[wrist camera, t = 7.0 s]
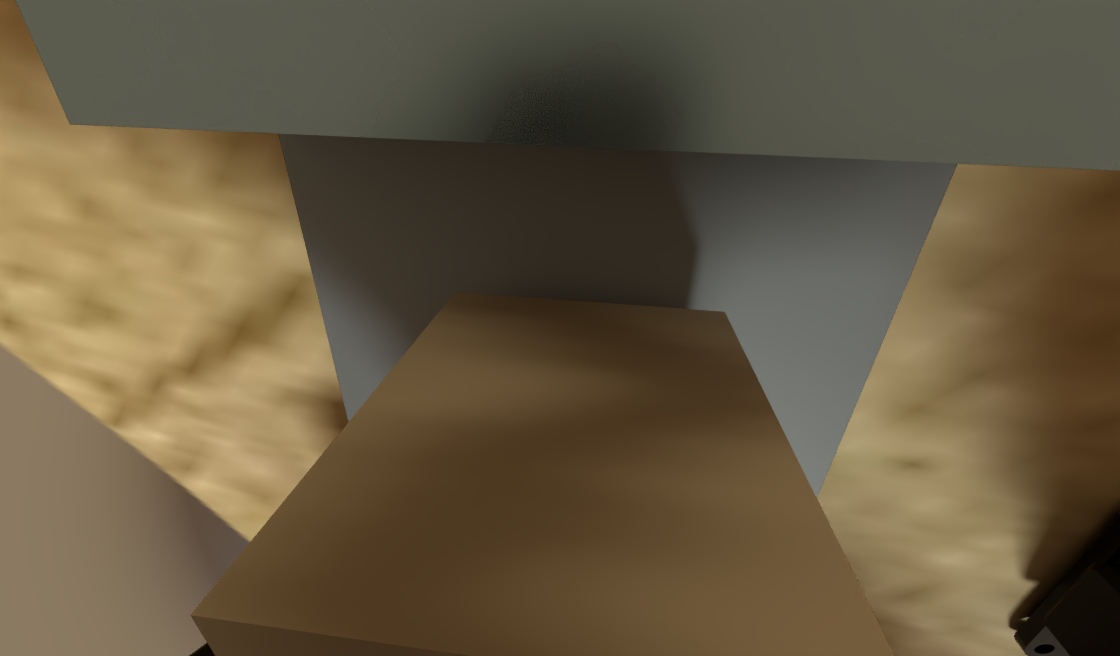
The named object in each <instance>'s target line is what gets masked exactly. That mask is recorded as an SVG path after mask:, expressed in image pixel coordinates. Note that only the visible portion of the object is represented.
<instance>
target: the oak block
mask: <svg viewBox="0 0 1120 656" xmlns="http://www.w3.org/2000/svg"><path fill="white" fill-rule="evenodd" d="M191 617H192V618H193V620H194V622H195V623H196V625H197V626H198V628H199V630H200V632H201V633H202V635H203V636H204V638H205V640H206V641H207V643H208V645H209V646H210V648H211V650H212V651H213V653H214V655H215V656H894V654H893V652H892V650H891V648H890V646H889V644H888V642H887V640H886V638H885V636H884V634H883V632H882V630H881V628H880V626H879V624H878V622H877V620H876V618H875V616H874V614H873V611H872V609H871V607H870V605H869V603H868V601H867V599H866V597H865V595H864V593H863V591H862V589H861V587H860V585H859V583H858V581H857V579H856V577H855V575H854V573H853V571H852V569H851V567H850V565H849V563H848V561H847V559H846V557H845V555H844V553H843V551H842V549H841V547H840V545H839V543H838V541H837V538H836V536H835V534H834V532H833V530H832V528H831V526H830V524H829V522H828V520H827V518H826V516H825V514H824V512H823V510H822V508H821V506H820V504H819V502H818V500H817V498H816V496H815V494H814V492H813V490H812V488H811V486H810V484H809V482H808V480H807V478H806V476H805V474H804V472H803V470H802V468H801V466H800V463H799V461H798V459H797V457H796V455H795V453H794V451H793V449H792V447H791V445H790V443H789V441H788V439H787V437H786V435H785V433H784V431H783V429H782V427H781V425H780V423H779V421H778V419H777V417H776V415H775V413H774V411H773V409H772V407H771V405H770V403H769V401H768V399H767V397H766V395H765V393H764V390H763V388H762V386H761V384H760V382H759V380H758V378H757V376H756V374H755V372H754V370H753V368H752V366H751V364H750V362H749V360H748V358H747V356H746V354H745V352H744V350H743V348H742V346H741V344H740V342H739V340H738V338H737V336H736V334H735V332H734V330H733V328H732V326H731V324H730V322H729V320H728V318H727V315H726V313H725V312H722V311H709V310H695V309H682V308H668V307H654V306H641V305H627V304H613V303H600V302H586V301H572V300H559V299H545V298H532V297H518V296H504V295H491V294H477V293H463V292H455V293H454V294H453V295H452V297H451V298H450V299H449V300H448V302H447V303H446V304H445V305H444V306H443V308H442V309H441V310H440V311H439V313H438V314H437V315H436V316H435V317H434V319H433V320H432V321H431V322H430V324H429V325H428V326H427V327H426V328H425V330H424V331H423V332H422V333H421V334H420V336H419V337H418V338H417V339H416V341H415V342H414V343H413V344H412V345H411V347H410V348H409V349H408V350H407V352H406V353H405V354H404V355H403V356H402V358H401V359H400V360H399V361H398V363H397V364H396V365H395V366H394V367H393V369H392V370H391V371H390V372H389V374H388V375H387V376H386V377H385V378H384V380H383V381H382V382H381V383H380V385H379V386H378V387H377V388H376V389H375V391H374V392H373V393H372V394H371V396H370V397H369V398H368V399H367V400H366V402H365V403H364V404H363V405H362V407H361V408H360V409H359V410H358V411H357V413H356V414H355V415H354V416H353V417H352V419H351V420H350V421H349V422H348V424H347V425H346V426H345V427H344V428H343V430H342V431H341V432H340V433H339V435H338V436H337V437H336V438H335V439H334V441H333V442H332V443H331V444H330V446H329V447H328V448H327V449H326V450H325V452H324V453H323V454H322V455H321V457H320V458H319V459H318V460H317V461H316V463H315V464H314V465H313V466H312V468H311V469H310V470H309V471H308V472H307V474H306V475H305V476H304V477H303V479H302V480H301V481H300V482H299V483H298V485H297V486H296V487H295V488H294V490H293V491H292V492H291V493H290V494H289V496H288V497H287V498H286V499H285V500H284V502H283V503H282V504H281V505H280V507H279V508H278V509H277V510H276V511H275V513H274V514H273V515H272V516H271V518H270V519H269V520H268V521H267V522H266V524H265V525H264V526H263V527H262V529H261V530H260V531H259V532H258V533H257V535H256V536H255V537H254V538H253V540H252V541H251V542H250V543H249V544H248V546H247V547H246V548H245V549H244V551H243V552H242V553H241V554H240V555H239V557H238V558H237V559H236V560H235V562H234V563H233V564H232V565H231V566H230V568H229V569H228V570H227V571H226V573H225V574H224V575H223V576H222V577H221V579H220V580H219V581H218V582H217V584H216V585H215V586H214V587H213V588H212V590H211V591H210V592H209V593H208V595H207V596H206V597H205V598H204V599H203V601H202V602H201V603H200V604H199V606H198V607H197V608H196V609H195V610H194V612H193V613H192V614H191Z"/></svg>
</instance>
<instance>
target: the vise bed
mask: <svg viewBox="0 0 1120 656" xmlns="http://www.w3.org/2000/svg"><path fill="white" fill-rule="evenodd" d="M279 138H280V143H281V147H282V151H283V155H284V159H285V163H286V167H287V171H288V176H289V180H290V184H291V188H292V192H293V196H294V200H295V204H296V208H297V213H298V217H299V221H300V225H301V229H302V233H303V237H304V241H305V246H306V250H307V254H308V258H309V262H310V266H311V270H312V274H313V278H314V283H315V287H316V291H317V295H318V299H319V303H320V307H321V311H322V315H323V320H324V324H325V328H326V332H327V336H328V340H329V344H330V348H331V353H332V357H333V361H334V365H335V369H336V373H337V377H338V381H339V385H340V390H341V394H342V398H343V402H344V406H345V410H346V414H347V418H348V422H349V421H350V420H351V419H352V417H353V416H354V415H355V414H356V413H357V411H358V410H359V409H360V408H361V407H362V405H363V404H364V403H365V402H366V400H367V399H368V398H369V397H370V396H371V394H372V393H373V392H374V391H375V389H376V388H377V387H378V386H379V385H380V383H381V382H382V381H383V380H384V378H385V377H386V376H387V375H388V374H389V372H390V371H391V370H392V369H393V367H394V366H395V365H396V364H397V363H398V361H399V360H400V359H401V358H402V356H403V355H404V354H405V353H406V352H407V350H408V349H409V348H410V347H411V345H412V344H413V343H414V342H415V341H416V339H417V338H418V337H419V336H420V334H421V333H422V332H423V331H424V330H425V328H426V327H427V326H428V325H429V324H430V322H431V321H432V320H433V319H434V317H435V316H436V315H437V314H438V313H439V311H440V310H441V309H442V308H443V306H444V305H445V304H446V303H447V302H448V300H449V299H450V298H451V297H452V295H453V294H454V293H455V292H463V293H477V294H491V295H504V296H518V297H532V298H545V299H559V300H572V301H586V302H600V303H613V304H627V305H641V306H654V307H668V308H682V309H695V310H709V311H722V312H725V313H726V315H727V318H728V320H729V322H730V324H731V326H732V328H733V330H734V332H735V334H736V336H737V338H738V340H739V342H740V344H741V346H742V348H743V350H744V352H745V354H746V356H747V358H748V360H749V362H750V364H751V366H752V368H753V370H754V372H755V374H756V376H757V378H758V380H759V382H760V384H761V386H762V388H763V390H764V393H765V395H766V397H767V399H768V401H769V403H770V405H771V407H772V409H773V411H774V413H775V415H776V417H777V419H778V421H779V423H780V425H781V427H782V429H783V431H784V433H785V435H786V437H787V439H788V441H789V443H790V445H791V447H792V449H793V451H794V453H795V455H796V457H797V459H798V461H799V463H800V466H801V468H802V470H803V472H804V474H805V476H806V478H807V480H808V482H809V484H810V486H811V488H812V490H813V492H814V494H815V496H816V498H817V496H818V494H819V491H820V489H821V487H822V484H823V482H824V479H825V477H826V475H827V472H828V470H829V468H830V465H831V463H832V460H833V458H834V456H835V453H836V451H837V449H838V446H839V444H840V441H841V439H842V437H843V434H844V432H845V430H846V427H847V425H848V422H849V420H850V418H851V415H852V413H853V411H854V408H855V406H856V403H857V401H858V399H859V396H860V394H861V392H862V389H863V387H864V384H865V382H866V380H867V377H868V375H869V373H870V370H871V368H872V365H873V363H874V361H875V358H876V356H877V354H878V351H879V349H880V347H881V344H882V342H883V339H884V337H885V335H886V332H887V330H888V328H889V325H890V323H891V320H892V318H893V316H894V313H895V311H896V309H897V306H898V304H899V301H900V299H901V297H902V294H903V292H904V290H905V287H906V285H907V282H908V280H909V278H910V275H911V273H912V271H913V268H914V266H915V263H916V261H917V259H918V256H919V254H920V252H921V249H922V247H923V244H924V242H925V240H926V237H927V235H928V233H929V230H930V228H931V225H932V223H933V221H934V218H935V216H936V214H937V211H938V209H939V206H940V204H941V202H942V199H943V197H944V195H945V192H946V190H947V187H948V185H949V183H950V180H951V178H952V176H953V173H954V171H955V168H956V166H957V164H958V163H935V162H912V161H890V160H867V159H844V158H822V157H799V156H776V155H753V154H731V153H708V152H685V151H663V150H640V149H617V148H595V147H572V146H549V145H527V144H504V143H481V142H458V141H436V140H413V139H390V138H368V137H345V136H322V135H300V134H279Z"/></svg>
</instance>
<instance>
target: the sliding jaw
mask: <svg viewBox="0 0 1120 656" xmlns="http://www.w3.org/2000/svg"><path fill="white" fill-rule="evenodd" d="M16 3H17V5H18V7H19V10H20V12H21V14H22V16H23V19H24V21H25V23H26V26H27V28H28V30H29V32H30V35H31V37H32V39H33V41H34V44H35V46H36V48H37V51H38V53H39V55H40V57H41V60H42V62H43V64H44V67H45V69H46V71H47V73H48V76H49V78H50V80H51V82H52V85H53V87H54V89H55V92H56V94H57V96H58V98H59V101H60V103H61V105H62V108H63V110H64V112H65V114H66V117H67V119H68V121H69V123H70V124H73V125H95V126H118V127H141V128H164V129H186V130H209V131H232V132H254V133H277V134H300V135H322V136H345V137H368V138H390V139H413V140H436V141H458V142H481V143H504V144H527V145H549V146H572V147H595V148H617V149H640V150H663V151H685V152H708V153H731V154H753V155H776V156H799V157H822V158H844V159H867V160H890V161H912V162H935V163H958V164H980V165H1003V166H1026V167H1048V168H1071V169H1094V170H1116V171H1120V0H16Z"/></svg>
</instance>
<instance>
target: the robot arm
mask: <svg viewBox="0 0 1120 656" xmlns="http://www.w3.org/2000/svg"><path fill="white" fill-rule="evenodd" d="M1014 638H1015V640H1016V642H1017V643H1018V644H1019V646H1020V647H1021V648H1022V650H1023V651H1024V653H1025V654H1026V655H1028V656H1120V516H1119V517H1118V519H1117V520H1116V521H1115V522H1114V523H1113V524H1112V525H1111V526H1110V528H1109V529H1108V530H1107V531H1106V532H1105V533H1104V534H1103V535H1102V537H1101V538H1100V539H1099V540H1098V541H1097V542H1096V543H1095V544H1094V545H1093V547H1092V548H1091V549H1090V550H1089V551H1088V552H1087V553H1086V554H1085V556H1084V557H1083V558H1082V559H1081V560H1080V561H1079V562H1078V563H1077V565H1076V566H1075V567H1074V568H1073V569H1072V570H1071V571H1070V572H1069V573H1068V575H1067V576H1066V577H1065V578H1064V579H1063V580H1062V581H1061V582H1060V584H1059V585H1058V586H1057V587H1056V588H1055V589H1054V590H1053V591H1052V593H1051V594H1050V595H1049V596H1048V597H1047V598H1046V599H1045V600H1044V601H1043V603H1042V604H1041V605H1040V606H1039V607H1038V608H1037V609H1036V610H1035V612H1034V613H1033V614H1032V615H1031V616H1030V617H1029V618H1028V619H1027V621H1026V622H1025V623H1024V624H1023V625H1022V626H1021V627H1020V628H1019V630H1018V631H1017V632H1016V633H1015V635H1014ZM189 656H215V655H214V653H213V651H212V650H211V648H210V646H209V645H208V643H206V644H204V645H203V646H202V647H200V648H199V649H198V650H196V651H195V652H194V653H192V654H191V655H189Z"/></svg>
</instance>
